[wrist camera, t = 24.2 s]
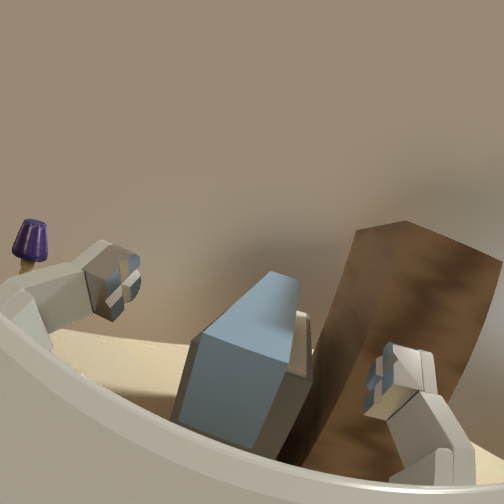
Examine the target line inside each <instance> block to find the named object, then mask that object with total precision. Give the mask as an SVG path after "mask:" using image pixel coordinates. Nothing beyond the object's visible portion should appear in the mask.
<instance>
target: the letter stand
mask: <svg viewBox="0 0 504 504" xmlns="http://www.w3.org/2000/svg"><path fill="white" fill-rule="evenodd" d="M244 295H245V294H244ZM244 295H243V296H244ZM243 296H242V297H243ZM242 297H241V298H242ZM241 298H240V299H241ZM240 299H238V300H240ZM238 300H237V301H238ZM237 301H236V302H237ZM236 302H235V303H236ZM235 303H234V304H235ZM234 304H233V305H234ZM233 305H232V306H233ZM232 306H230V307H229V308H228V309H230V308H231V307H232ZM228 309H227V310H228ZM227 310H226V311H227ZM226 311H225V312H226ZM225 312H224V313H225ZM224 313H222V314H221V315H220V316H219V317H218V318H220V317H221V316H222V315H223V314H224ZM218 318H217V319H218ZM217 319H216V320H217ZM216 320H214V321H213V322H212V323H211V324H210V325H209V326H211V325H212V324H213V323H214V322H215V321H216ZM209 326H207V327H206V328H205V329H204V330H203V331H202V332H201V333H199V334H198V335H197V336H196V337H195V338H194V339H192V340H191V344H190V347H189V351H188V355H187V358H186V362H185V366H184V369H183V373H182V377H181V381H180V384H179V388H178V392H177V396H176V400H175V404H174V408H173V412H172V416H171V419H170V422H173V423H175V424H177V425H179V426H181V427H184V428H186V429H188V430H191V431H193V432H195V433H198V434H200V435H203V436H205V437H208V438H210V439H213V440H215V441H218V442H221V443H223V444H226V445H229V446H232V447H235V448H237V449H240V450H243V451H246V452H249V453H252V454H255V455H259V456H262V457H265V458H268V459H272V460H275V459H276V457H277V455H278V453H279V452H280V450H281V448H282V446H283V444H284V442H285V440H286V438H287V436H288V434H289V432H290V430H291V428H292V426H293V424H294V422H295V420H296V418H297V416H298V414H299V412H300V410H301V407H302V405H303V403H304V401H305V399H306V397H307V395H308V392H309V390H310V388H311V386H312V383H313V376H312V349H311V330H310V329H311V328H310V316H309V315H307V314H306V313H303V312H300V311H297V312H296V319H295V326H294V333H293V339H292V346H291V352H290V358H289V364H288V366H287V369H286V371H285V374H284V376H283V379H282V381H281V384H280V386H279V388H278V391H277V393H276V396H275V398H274V400H273V403H272V405H271V407H270V410H269V412H268V414H267V416H266V419H265V421H264V423H263V425H262V428H261V430H260V432H259V434H258V437H257V439H256V441H255V443H254V445H253V447H252V449H250V448H247V447H244V446H241V445H238V444H235V443H233V442H230V441H227V440H224V439H222V438H219V437H216V436H214V435H211V434H209V433H206V432H204V431H201V430H199V429H196V428H194V427H191V426H189V425H187V424H184V423H182V422H180V421H178V420H179V416H180V412H181V409H182V405H183V401H184V398H185V394H186V390H187V387H188V383H189V379H190V376H191V372H192V369H193V365H194V361H195V358H196V354H197V351H198V347H199V344H200V340H201V337H202V333H203V332H204V331H205V330H206V329H207V328H208V327H209Z"/></svg>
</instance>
